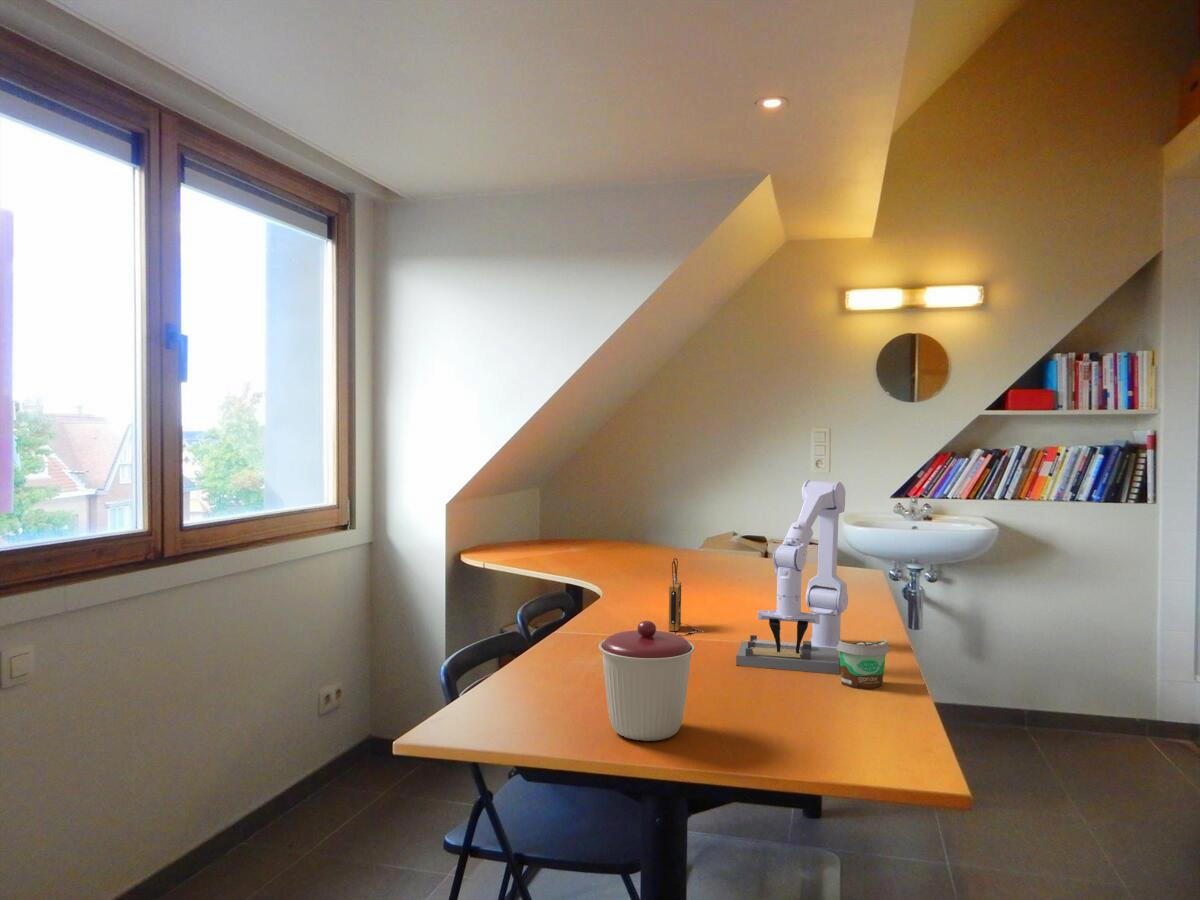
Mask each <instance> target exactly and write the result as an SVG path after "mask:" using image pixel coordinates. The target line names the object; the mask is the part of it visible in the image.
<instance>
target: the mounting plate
mask: <svg viewBox="0 0 1200 900" xmlns="http://www.w3.org/2000/svg"><path fill="white" fill-rule="evenodd" d="M749 636H750V637H749V640H748V641H745V640H744V641H742V640H741V642H740V645H739V647H738V650H737V652H736V656H735V658H736V661H735V666H736V665H743V666H742V667H745V666H752V667H751V668H757V667H762V668H761V669H769V668H775V669H774V670H781V669H785V670H784V671H794V670H796V671H797V672H805V673H806V672H807V673H820V674H831V675H840V655H839V651H838V650H836V649H837V648H826V647H812V646H811V640H803V642H802V647H801V655H800V658H794V657H778V656H762V655H753V648H750V647H755V642H754V641H753V639H758V635H754V634H750V635H749ZM760 648H765V647H760ZM776 649H777V648H776ZM796 671H795V672H796Z"/></svg>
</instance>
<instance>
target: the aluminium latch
mask: <svg viewBox="0 0 1200 900" xmlns="http://www.w3.org/2000/svg"><path fill="white" fill-rule="evenodd" d="M753 641H754V642H755V647H765V648H777V646H776V641H775V640H769V639H758V638H757V639H753ZM796 644H797V642H795V641H794V642H793V641H792V642H791V641H783V640H782V641H781V640H780V645H781V646H780V649H793V650H796ZM802 646H803V642H801V644H800V648H799V650H801V647H802Z"/></svg>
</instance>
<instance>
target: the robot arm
mask: <svg viewBox="0 0 1200 900" xmlns="http://www.w3.org/2000/svg"><path fill="white" fill-rule="evenodd" d="M801 499H802V503H803V504H802V507H801V510H800V513H799V516H798V519H797V521H795V522H792V523H791V525H790V527H789V529H788V531H787V533H786V535H785V537H784V540H783V542H782V544H780V545H779V546H776V547H775V549H774V551H773V556H772V564H773V566H774V573H775V574H774V575H775V576H776V610H757V620H758V621H763V620H765V621H768V626H769V627H770V630H771V633H772V635H773V637H774V641H776V646H777V651H779V652H780V646H781V645H780V641H781V622H792V623H793V622H795V623H797V624H796V643H797V644H796V653H799V648H800V644H801V643H802V640H803V639H804V635H805V633H806V631H807V630H808V626H809V623H810V624H812V625H811V626H812V630H811V632H812V633H811V637H810V641H811V646H812V647H826V648H837V644H839V641H841V642H843V641H842V639H841V626H842V625H841V618H842V615H841V614H843V613H844V612H845V611H846V610H847V609H848V608H847V607H848V605H849V593H848V586H847V582H845V581H844V580H843V579H842V578H841V577H839V576H838V575H837V570H838V569H837V566H838V542H839V541H838V540H839V539H838V537H839V519H840V517H839V516H840V514H842V513H844V512H845V508H846V489H845V486H844V484H843V482H841V481H822V480H810V479H807V480H805V482H804V483H803V484H802V487H801ZM818 516H819V522H818V524H819V525H818V546H817V547H818V549H817V550H818V551H817V574H816V575H815V576H813V577H812V578H810V579H809V580H808V583H807V589H806V593H805V603H806V605H807V608H808V609H810V610H809V611H810V612H812V613H810V612H802V571H803V570H804V567H805V566H806V563H807V562H806V561H807V557H808V550H807V549H808V547H809V544H810V542H811V539H812V537H813V534H814V531H813V529H812V526H813V525H814V523H815V522H816V520H817V518H818Z"/></svg>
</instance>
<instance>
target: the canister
mask: <svg viewBox="0 0 1200 900" xmlns="http://www.w3.org/2000/svg"><path fill="white" fill-rule="evenodd" d="M636 629H637V630H635V629H634V630H626V631H621V632H616V633H614V634H611V635H609V636H608V637H607V638H605V639H603V640H601V641H600V642H599V644H598V649H599V651H600V652H601V653H602V664H603V675H604V684H605V686H604V687H605V695H606V703H607V711H608V718H609V722H610V725H611V727H612V729H613V730H614V731H615V732H616V733H617V734H618V735H620V736H622V737H623V736H624V737H623V738H625V739H626V738H627V739H629V740H635V741H639V740H640V741H641V740H642V741H643V742H653V741H662V740H665V739H669V738H671V737H673V736H674V735H676V734H677V733H678V731H679V730H680V728H681V726H682V722H683V720H684V719H683V718H684V712H685V707H686V699H687V691H688V684H689V676H690V668H691V666H690V665H691V659H692V658H691V656H692V654H693V653H694V652H695V650H696V649H695V645H694V644H693V643H692V642H691V641H688V639H686V638H685V637H683V636H679V635H680V634H679V635H676V634H677V633H676V634H675V633H673V632H669V631H662V630H657V626H656V624H655V623H654V622H652V621H651V620H643V621H640V622H639V623H638V625H637V628H636ZM642 741H641V742H642Z"/></svg>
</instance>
